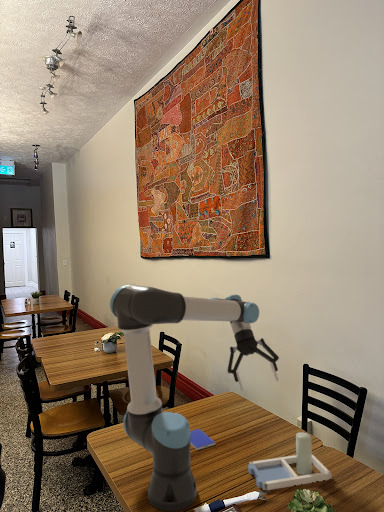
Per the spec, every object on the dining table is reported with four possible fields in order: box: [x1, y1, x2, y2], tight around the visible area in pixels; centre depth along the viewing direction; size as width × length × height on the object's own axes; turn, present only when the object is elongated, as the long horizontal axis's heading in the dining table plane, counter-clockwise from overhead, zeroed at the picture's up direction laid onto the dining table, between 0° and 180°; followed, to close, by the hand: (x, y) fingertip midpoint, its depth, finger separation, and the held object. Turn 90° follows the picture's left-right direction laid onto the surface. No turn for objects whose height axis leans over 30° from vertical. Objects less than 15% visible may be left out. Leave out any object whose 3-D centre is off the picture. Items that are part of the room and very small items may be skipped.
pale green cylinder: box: [295, 431, 313, 476], centre depth 123 cm, size 5×5×12 cm
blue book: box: [190, 428, 216, 451], centre depth 145 cm, size 2×8×12 cm
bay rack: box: [247, 453, 332, 491], centre depth 122 cm, size 25×12×2 cm, turn 102°
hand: (259, 385), depth 135 cm, fingers open, 13 cm apart
